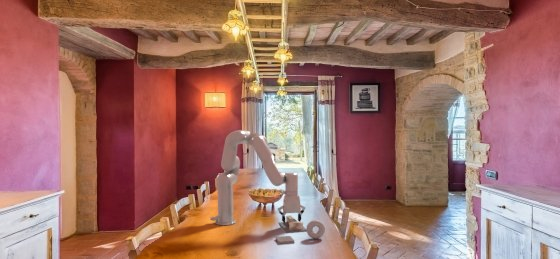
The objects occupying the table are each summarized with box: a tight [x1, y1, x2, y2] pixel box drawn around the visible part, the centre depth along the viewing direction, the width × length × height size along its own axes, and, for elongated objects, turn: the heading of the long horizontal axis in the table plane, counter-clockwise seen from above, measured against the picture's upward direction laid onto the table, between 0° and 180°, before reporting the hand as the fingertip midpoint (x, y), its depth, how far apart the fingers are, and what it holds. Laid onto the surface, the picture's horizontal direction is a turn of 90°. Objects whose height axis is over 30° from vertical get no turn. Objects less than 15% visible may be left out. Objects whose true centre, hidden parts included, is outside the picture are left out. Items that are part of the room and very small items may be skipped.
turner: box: [285, 215, 304, 230], centre depth 202 cm, size 8×17×4 cm, turn 14°
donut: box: [305, 219, 326, 240], centre depth 179 cm, size 10×4×10 cm, turn 91°
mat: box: [278, 221, 307, 234], centre depth 201 cm, size 12×20×1 cm, turn 14°
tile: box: [275, 235, 295, 245], centre depth 175 cm, size 8×2×8 cm
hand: (291, 221), depth 202 cm, fingers open, 9 cm apart
